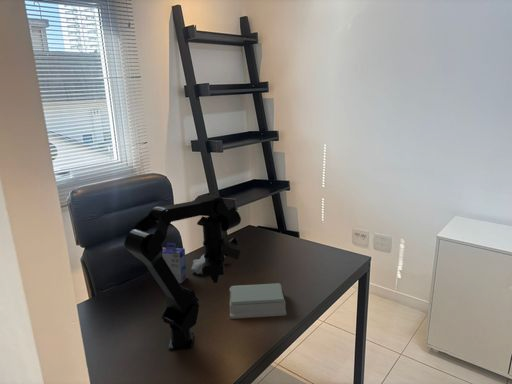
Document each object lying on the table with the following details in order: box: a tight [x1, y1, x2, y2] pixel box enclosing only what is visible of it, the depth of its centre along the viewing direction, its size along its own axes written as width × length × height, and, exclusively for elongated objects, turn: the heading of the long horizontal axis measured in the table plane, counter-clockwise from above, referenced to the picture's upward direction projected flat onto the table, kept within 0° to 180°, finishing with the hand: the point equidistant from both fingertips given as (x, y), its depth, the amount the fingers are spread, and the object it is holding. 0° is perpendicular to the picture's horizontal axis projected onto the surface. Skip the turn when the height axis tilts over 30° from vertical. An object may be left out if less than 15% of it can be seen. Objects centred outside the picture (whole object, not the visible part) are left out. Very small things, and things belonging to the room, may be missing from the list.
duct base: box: [229, 286, 287, 319], centre depth 126 cm, size 16×18×4 cm
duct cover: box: [230, 282, 285, 305], centre depth 124 cm, size 10×17×1 cm, turn 94°
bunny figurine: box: [190, 254, 226, 275], centre depth 153 cm, size 10×5×15 cm
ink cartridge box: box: [162, 242, 188, 284], centre depth 142 cm, size 10×6×14 cm, turn 78°
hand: (215, 282), depth 117 cm, fingers closed
